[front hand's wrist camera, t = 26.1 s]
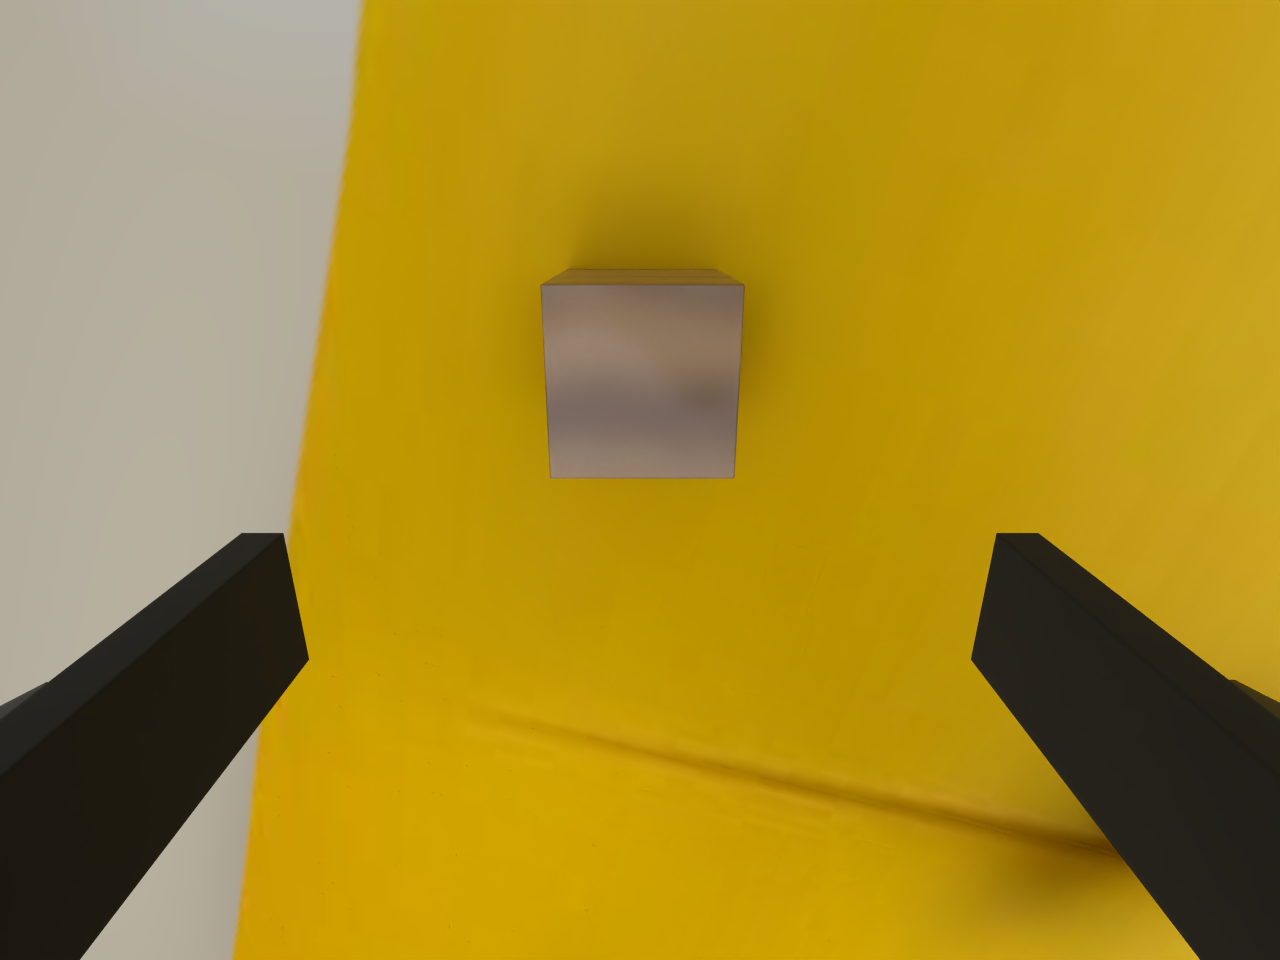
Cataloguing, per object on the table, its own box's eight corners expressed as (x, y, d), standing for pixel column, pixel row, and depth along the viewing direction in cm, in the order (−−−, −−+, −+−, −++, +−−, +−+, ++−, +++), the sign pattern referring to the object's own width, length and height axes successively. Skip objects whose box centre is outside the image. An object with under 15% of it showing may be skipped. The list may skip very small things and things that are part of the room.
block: (566, 269, 38) (540, 284, 28) (717, 269, 38) (744, 284, 28) (571, 417, 41) (549, 478, 31) (711, 417, 41) (734, 478, 31)
